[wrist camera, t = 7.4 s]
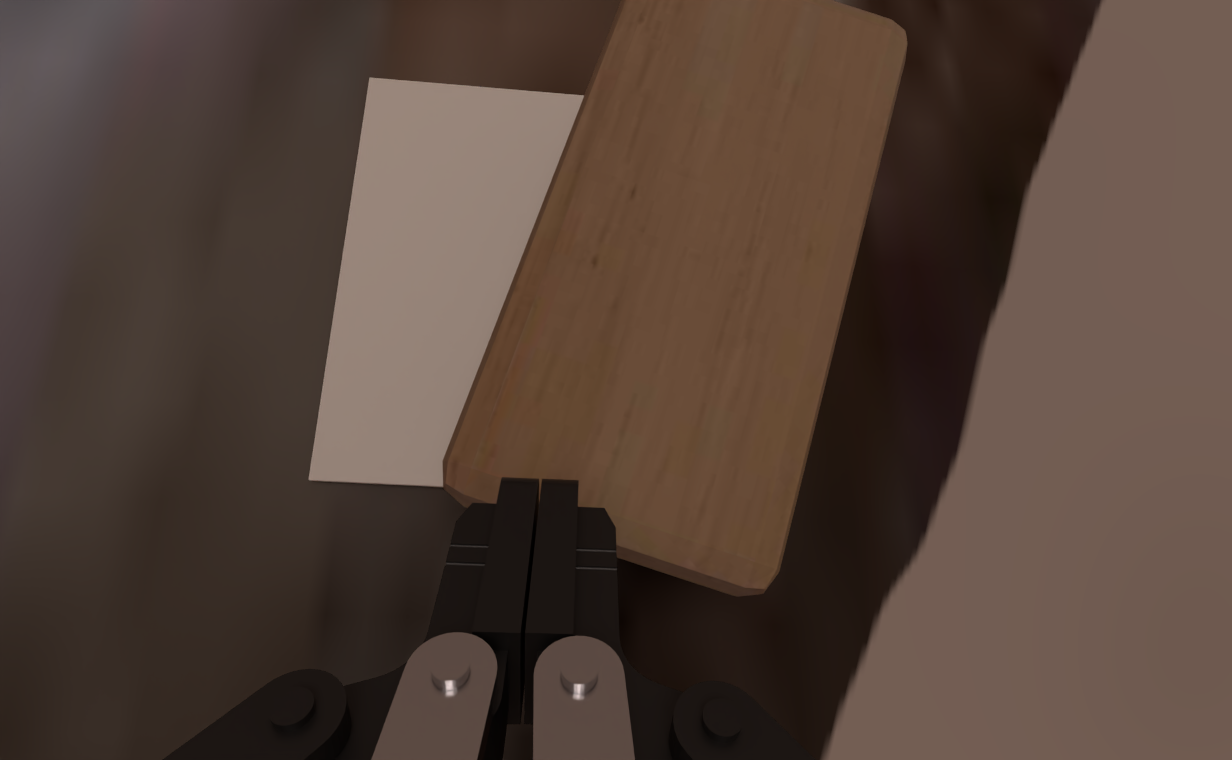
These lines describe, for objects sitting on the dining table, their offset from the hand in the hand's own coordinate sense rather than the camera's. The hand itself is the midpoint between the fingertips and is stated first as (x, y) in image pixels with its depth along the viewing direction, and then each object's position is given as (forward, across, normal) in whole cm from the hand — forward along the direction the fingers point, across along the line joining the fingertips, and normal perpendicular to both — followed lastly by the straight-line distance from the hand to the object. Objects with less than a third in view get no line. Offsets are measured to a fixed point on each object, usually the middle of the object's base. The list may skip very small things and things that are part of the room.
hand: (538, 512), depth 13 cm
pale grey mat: (+18, 0, +3) cm, 19 cm away
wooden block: (+6, -1, +8) cm, 10 cm away
